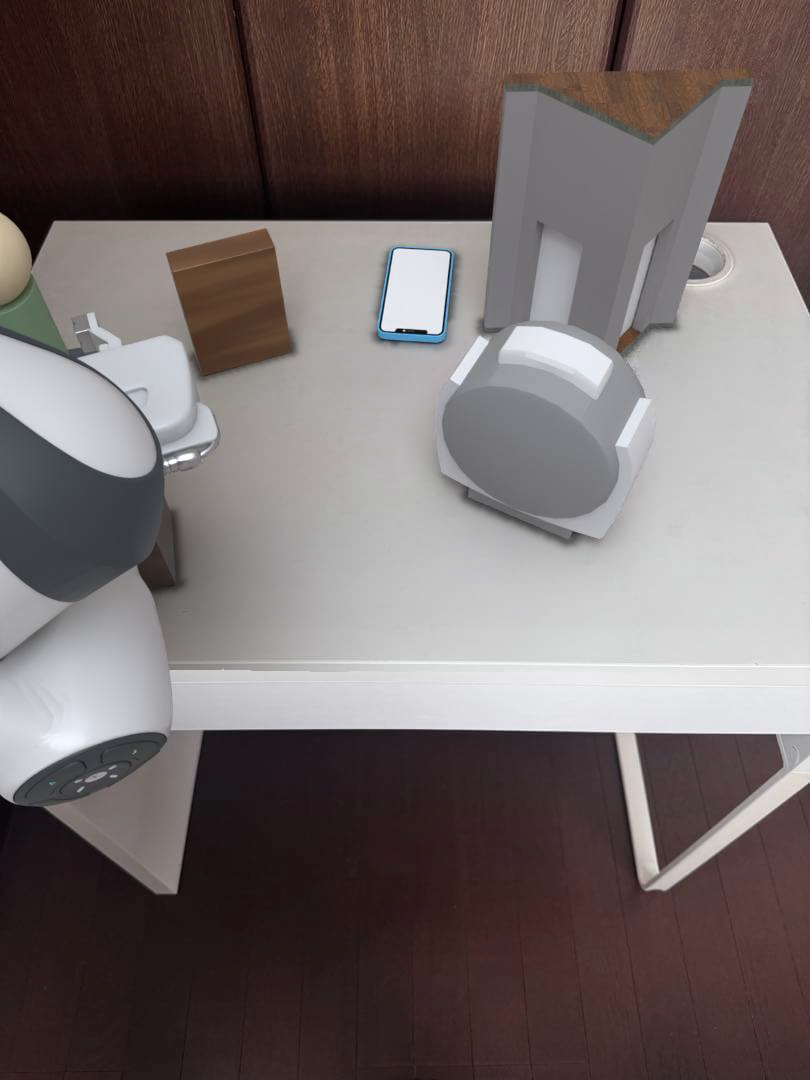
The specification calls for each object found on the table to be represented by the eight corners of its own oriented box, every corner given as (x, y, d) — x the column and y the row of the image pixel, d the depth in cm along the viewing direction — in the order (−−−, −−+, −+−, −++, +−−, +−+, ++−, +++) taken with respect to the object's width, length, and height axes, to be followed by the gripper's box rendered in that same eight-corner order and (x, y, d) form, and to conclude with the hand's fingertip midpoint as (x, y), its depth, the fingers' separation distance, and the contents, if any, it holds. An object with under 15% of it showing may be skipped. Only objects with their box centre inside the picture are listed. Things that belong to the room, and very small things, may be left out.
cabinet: (669, 317, 98) (750, 68, 74) (686, 380, 92) (780, 134, 69) (483, 322, 97) (505, 73, 74) (490, 386, 92) (516, 141, 69)
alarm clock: (631, 502, 84) (687, 351, 67) (599, 569, 80) (650, 426, 63) (464, 435, 89) (476, 277, 72) (425, 495, 85) (428, 343, 68)
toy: (99, 404, 65) (80, 409, 53) (18, 426, 64) (-22, 437, 51) (36, 224, 62) (0, 183, 49) (-51, 244, 61) (-110, 208, 48)
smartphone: (454, 249, 103) (444, 337, 94) (453, 257, 104) (444, 345, 95) (390, 245, 103) (376, 333, 95) (391, 253, 104) (376, 341, 96)
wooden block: (292, 352, 95) (275, 246, 83) (202, 376, 93) (172, 272, 82) (284, 333, 97) (266, 227, 85) (196, 357, 95) (165, 252, 83)
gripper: (218, 418, 47) (162, 259, 54) (-185, 535, 43) (-189, 348, 50) (238, 488, 52) (184, 335, 59) (-119, 597, 48) (-131, 420, 55)
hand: (10, 341), depth 55 cm, fingers open, 8 cm apart
